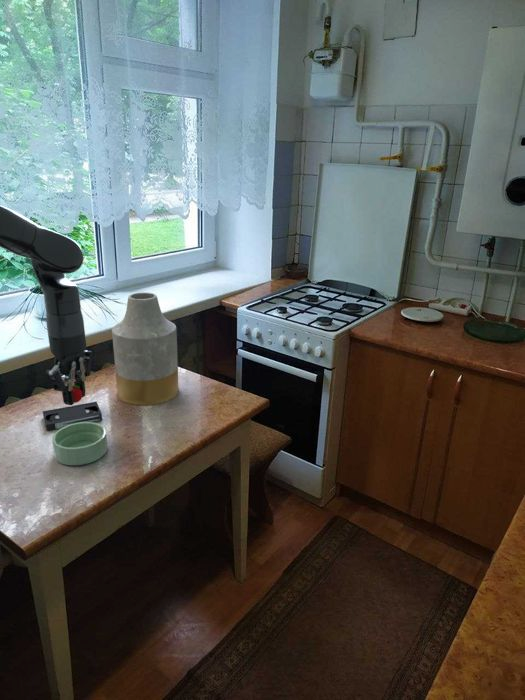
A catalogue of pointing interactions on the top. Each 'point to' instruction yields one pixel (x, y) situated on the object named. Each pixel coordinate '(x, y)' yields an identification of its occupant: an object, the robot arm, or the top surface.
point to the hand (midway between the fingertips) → (75, 399)
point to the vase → (145, 353)
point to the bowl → (79, 443)
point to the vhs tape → (71, 415)
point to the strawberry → (77, 393)
